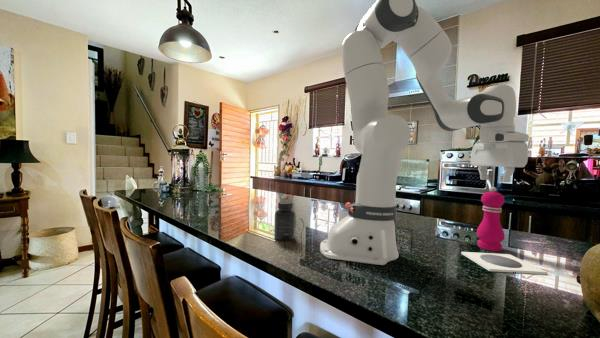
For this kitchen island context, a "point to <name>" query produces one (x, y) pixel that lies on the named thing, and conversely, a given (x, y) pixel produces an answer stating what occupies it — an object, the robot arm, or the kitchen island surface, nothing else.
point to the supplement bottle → (284, 222)
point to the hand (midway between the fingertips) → (494, 180)
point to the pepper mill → (491, 221)
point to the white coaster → (502, 263)
